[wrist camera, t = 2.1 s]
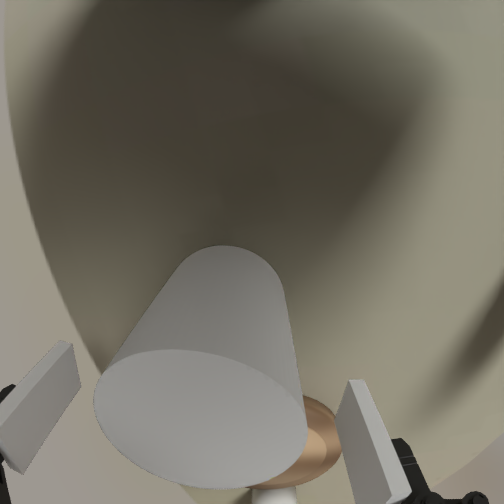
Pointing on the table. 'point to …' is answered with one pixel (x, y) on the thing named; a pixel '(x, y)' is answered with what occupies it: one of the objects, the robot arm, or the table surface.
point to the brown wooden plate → (311, 449)
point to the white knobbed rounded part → (274, 496)
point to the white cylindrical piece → (208, 377)
